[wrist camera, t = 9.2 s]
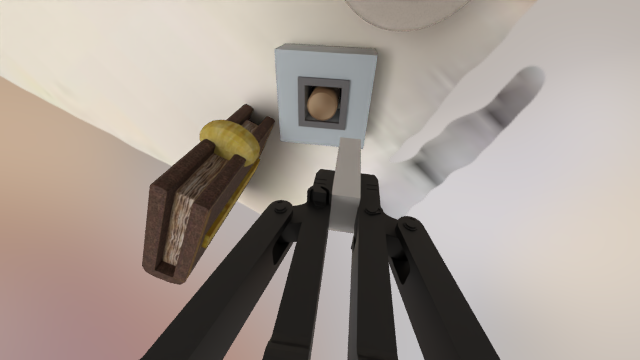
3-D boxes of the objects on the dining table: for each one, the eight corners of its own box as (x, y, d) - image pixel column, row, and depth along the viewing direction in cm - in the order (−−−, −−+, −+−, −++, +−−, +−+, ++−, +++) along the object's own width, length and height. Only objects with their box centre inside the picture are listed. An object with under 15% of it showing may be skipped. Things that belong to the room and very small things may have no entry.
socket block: (289, 126, 47) (279, 142, 41) (285, 43, 38) (273, 49, 33) (362, 133, 45) (363, 150, 40) (375, 48, 37) (377, 56, 32)
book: (250, 190, 57) (190, 290, 37) (215, 173, 56) (133, 268, 36) (286, 110, 45) (224, 197, 25) (243, 87, 44) (140, 158, 23)
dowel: (313, 105, 43) (307, 119, 38) (314, 78, 40) (307, 90, 35) (338, 107, 42) (335, 122, 37) (341, 80, 40) (337, 92, 35)
